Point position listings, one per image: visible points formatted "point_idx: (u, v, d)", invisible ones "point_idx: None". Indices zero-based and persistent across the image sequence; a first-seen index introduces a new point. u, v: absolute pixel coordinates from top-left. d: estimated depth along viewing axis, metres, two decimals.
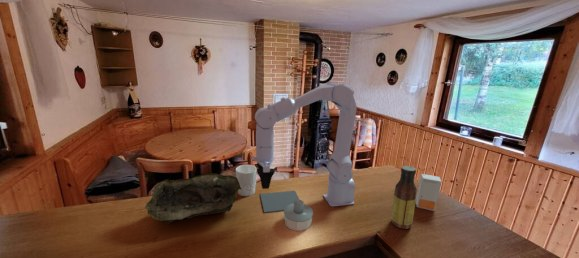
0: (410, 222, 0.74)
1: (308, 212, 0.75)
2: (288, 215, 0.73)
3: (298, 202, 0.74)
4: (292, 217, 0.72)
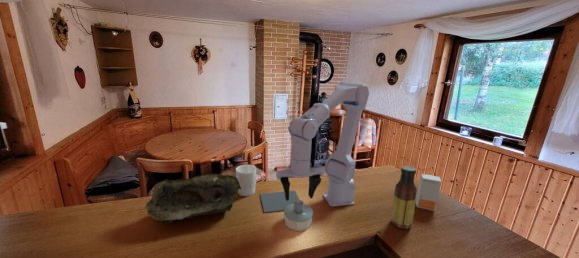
0: (410, 222, 0.74)
1: (308, 212, 0.75)
2: (288, 215, 0.73)
3: (298, 202, 0.74)
4: (292, 217, 0.72)
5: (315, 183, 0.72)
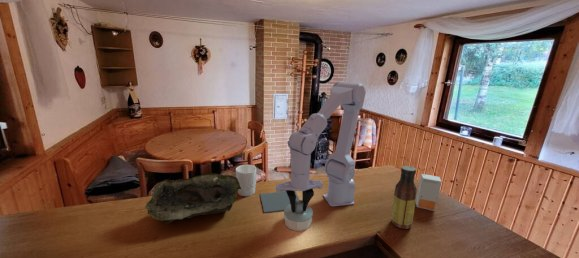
0: (410, 222, 0.74)
1: (308, 212, 0.75)
2: (288, 215, 0.73)
3: (298, 202, 0.74)
4: (292, 217, 0.72)
5: (308, 196, 0.72)
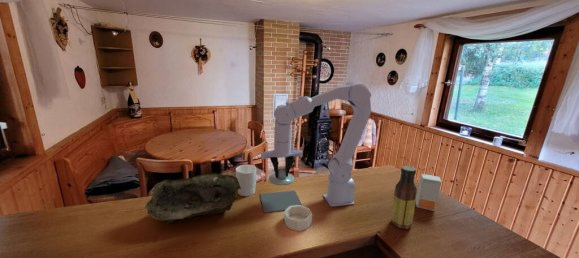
0: (410, 222, 0.74)
1: (290, 178, 0.85)
2: (272, 180, 0.83)
3: (281, 170, 0.84)
4: (276, 182, 0.82)
5: (289, 163, 0.82)
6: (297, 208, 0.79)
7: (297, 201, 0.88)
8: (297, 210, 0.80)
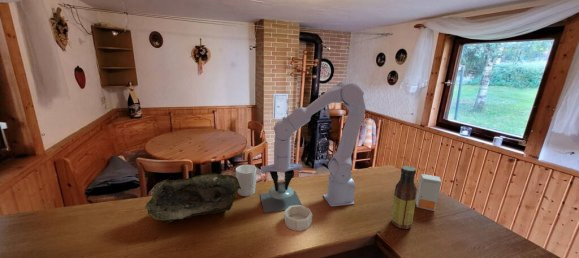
0: (410, 222, 0.74)
1: (290, 192, 0.86)
2: (272, 194, 0.84)
3: (281, 183, 0.86)
4: (275, 195, 0.83)
5: (289, 177, 0.84)
6: (297, 208, 0.79)
7: (297, 201, 0.88)
8: (297, 210, 0.80)
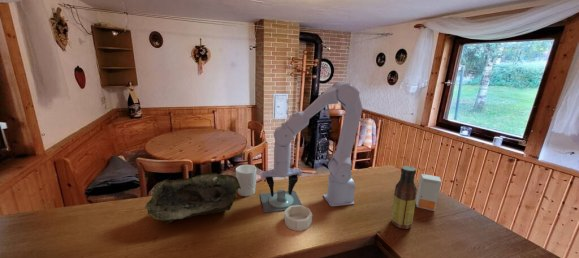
0: (410, 222, 0.74)
1: (290, 200, 0.87)
2: (272, 203, 0.85)
3: (281, 192, 0.86)
4: (275, 204, 0.84)
5: (293, 182, 0.85)
6: (297, 208, 0.79)
7: (297, 201, 0.88)
8: (297, 210, 0.80)
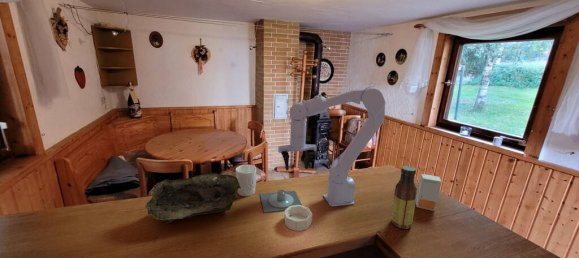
0: (410, 222, 0.74)
1: (290, 200, 0.87)
2: (272, 203, 0.85)
3: (281, 192, 0.86)
4: (275, 204, 0.84)
5: (309, 156, 0.89)
6: (297, 208, 0.79)
7: (297, 201, 0.88)
8: (297, 210, 0.80)
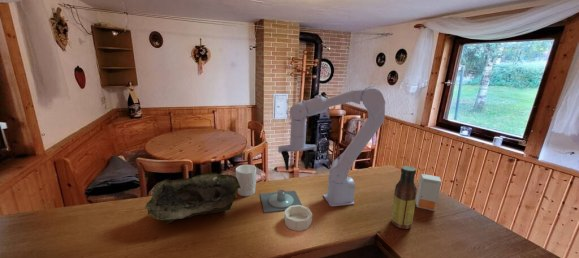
0: (410, 222, 0.74)
1: (290, 200, 0.87)
2: (272, 203, 0.85)
3: (281, 192, 0.86)
4: (275, 204, 0.84)
5: (309, 156, 0.89)
6: (297, 208, 0.79)
7: (297, 201, 0.88)
8: (297, 210, 0.80)
